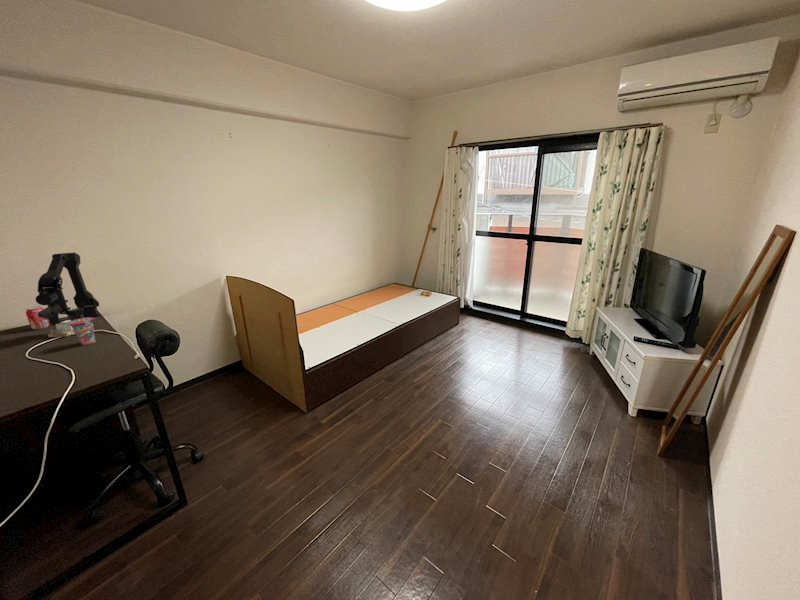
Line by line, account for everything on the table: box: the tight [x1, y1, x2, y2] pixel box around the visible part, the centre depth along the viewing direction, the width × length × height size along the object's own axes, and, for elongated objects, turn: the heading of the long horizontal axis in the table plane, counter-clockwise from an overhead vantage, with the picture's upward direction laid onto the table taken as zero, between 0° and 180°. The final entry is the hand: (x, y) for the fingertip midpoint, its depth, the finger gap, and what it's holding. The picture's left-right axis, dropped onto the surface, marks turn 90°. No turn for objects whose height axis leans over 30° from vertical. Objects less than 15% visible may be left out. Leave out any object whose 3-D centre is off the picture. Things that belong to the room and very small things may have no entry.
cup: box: [69, 317, 97, 346], centre depth 157 cm, size 9×8×12 cm
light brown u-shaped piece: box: [47, 328, 75, 338], centre depth 170 cm, size 9×9×4 cm
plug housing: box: [55, 319, 73, 332], centre depth 171 cm, size 6×4×6 cm
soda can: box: [25, 305, 50, 330], centre depth 178 cm, size 7×7×12 cm
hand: (66, 327), depth 171 cm, fingers open, 9 cm apart
